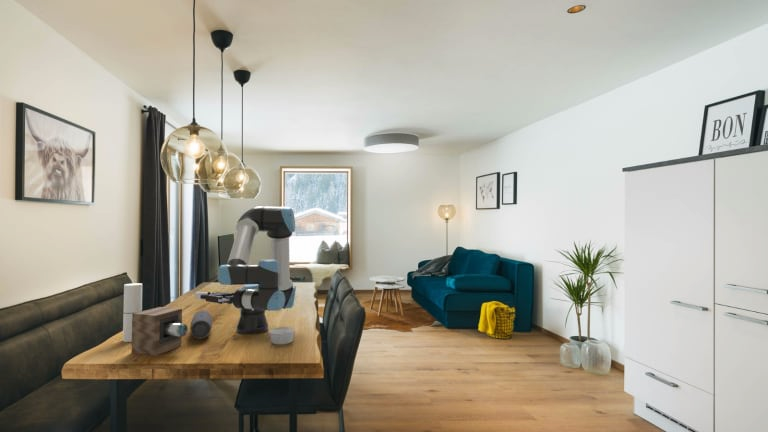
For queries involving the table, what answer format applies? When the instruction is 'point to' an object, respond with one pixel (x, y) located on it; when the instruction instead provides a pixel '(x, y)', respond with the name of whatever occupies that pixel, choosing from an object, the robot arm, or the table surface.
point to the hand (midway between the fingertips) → (196, 295)
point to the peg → (175, 329)
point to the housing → (154, 331)
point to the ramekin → (281, 335)
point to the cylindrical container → (131, 307)
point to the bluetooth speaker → (201, 324)
